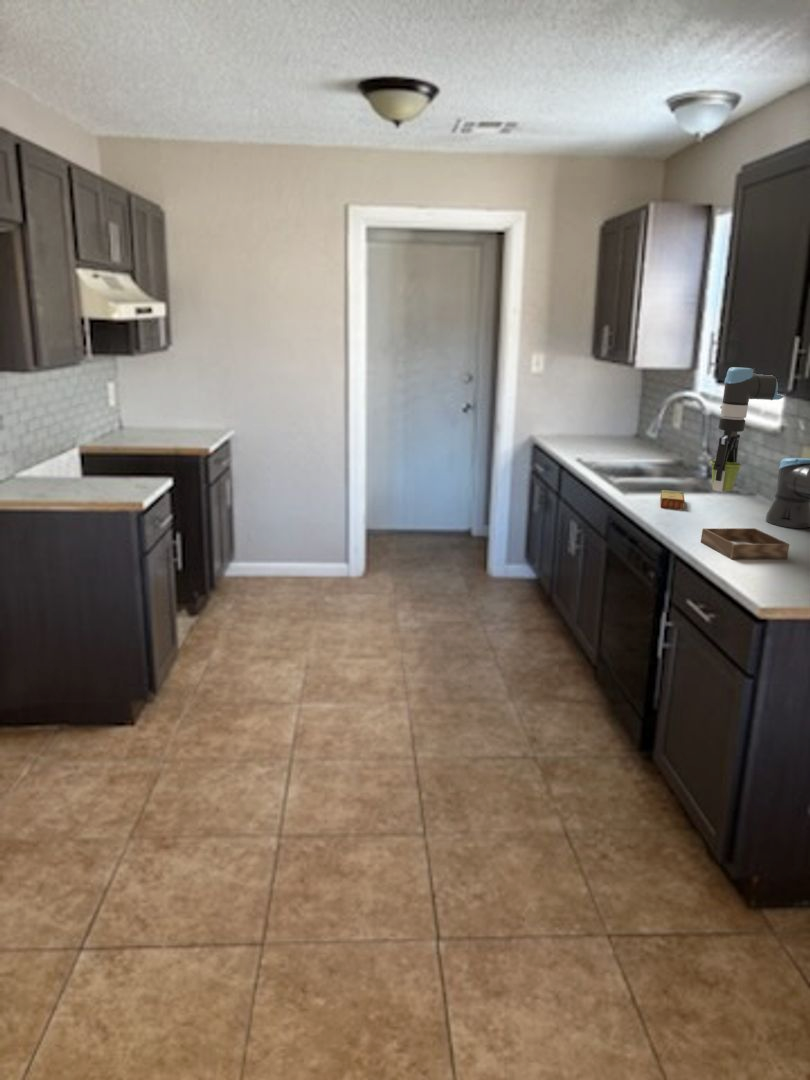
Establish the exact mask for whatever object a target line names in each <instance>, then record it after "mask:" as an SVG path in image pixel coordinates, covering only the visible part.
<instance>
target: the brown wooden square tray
mask: <svg viewBox="0 0 810 1080" xmlns="http://www.w3.org/2000/svg"><path fill="white" fill-rule="evenodd" d="M700 537H701V539H700V543H701V544H703V545H705V546H706V547H708V548H710V549H712V550H714V551H715V552H717V553H719V554H721V555H722V556H725V557H726V558H729V559H730V560H787V559H788V556H789V549H790V545H791V544H789V543H787V542H785V541H783V540H780V539H779V538H778V537H777V538H776V537H774V535H770V534H768V533H766V532H763V531H762V530H760V529H757V528H755V527H754V528H751V527H749V528H748V527H747V528H745V527H741V528H739V527H738V528H734V527H733V528H728V527H727V528H724V527H723V528H722V527H721V528H720V527H718V528H702V530H701V536H700Z"/></svg>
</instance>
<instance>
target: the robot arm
mask: <svg viewBox="0 0 810 1080" xmlns="http://www.w3.org/2000/svg"><path fill="white" fill-rule="evenodd" d="M754 369H755V368H750V367H736V366H735V367H734V366H732V367H729V368H728V370H727V372H726V377H725V379H724V389H723V396H722V404H721V405H720V406H719V408H720V410H721V411H720V416H721V417H720V418H719V423H718V429H719V430H720V431H724V432H723V435H722V436H720V437H719V438H718V447H717V452H716V456H715V460H714V461H715V465H714V467H713V470H716V472H715V479H714V485H713V489H712V491H717V492H723V491H722V489H723V482H724V476H725V471H724V470H725V465H726V462H736V463H738V462H737V461H738V451H739V445H740V444H739V443H740V437H741V434H738V433H741V432H744V430H745V426H746V420H745V418H747V413H748V407H749V400H763V401H764V400H768V401H773V400H774V401H775V400H776V401H777V400H782V399H783V398H784V397H785V396H781V395H777V394H778V392H777V391H778V382H777V379H776V377H775V376H773V375H763V374H756V371H755V370H754ZM719 465H721V466H719ZM776 481H777V482H776V489H775V494H774V498H773V501H772V503H771V505H770V507H769V509H768V511H767V512H766V515H765V521H766V522H767V523H769V524H772V525H774V526H778V527H784V528H791V529H807V528H806V527H810V458H806V457H804V458H803V457H785V458H783V459H782V460H781V461H780V465H779V468H778V474H777V480H776Z"/></svg>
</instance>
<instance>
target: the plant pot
mask: <svg viewBox="0 0 810 1080" xmlns="http://www.w3.org/2000/svg"><path fill="white" fill-rule="evenodd" d="M709 462H710V464H711V466H710V467H711V489H712V490H713V485H714V479H715V472H716V470H713V467H714V465H715V460H710V461H709ZM719 466H721V465H719ZM741 467H742V463H739V462H737V463H736V462H726V465H725V470H724V471H725V476H724V482H723V489H722V491H721V492H726V491H728V492H732V491H733V488H734V484H735V481H736V478H737V475H738V473H739V471H740V468H741Z"/></svg>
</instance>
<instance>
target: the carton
mask: <svg viewBox="0 0 810 1080" xmlns="http://www.w3.org/2000/svg"><path fill="white" fill-rule="evenodd" d="M659 499H660V500H659V501H660V504H659V505H660V506H659V507H661V509H668V508H673V509H672V510H677V509H683V510H684V506H685V494H684V491H681V490H680V491H679V490H678V491H677V490H667V489H661V493H660V498H659Z"/></svg>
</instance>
